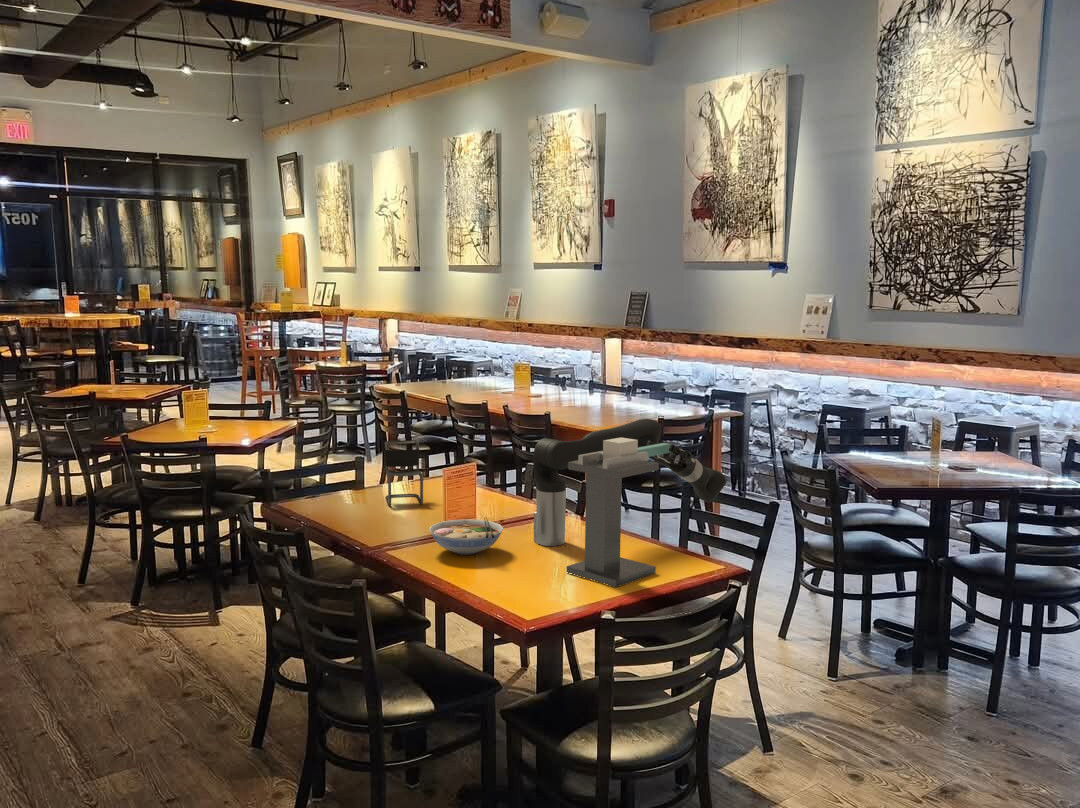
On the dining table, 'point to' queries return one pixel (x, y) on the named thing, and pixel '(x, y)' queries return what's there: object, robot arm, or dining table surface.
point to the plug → (631, 448)
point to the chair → (402, 461)
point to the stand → (608, 517)
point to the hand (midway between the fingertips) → (659, 445)
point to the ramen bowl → (466, 535)
